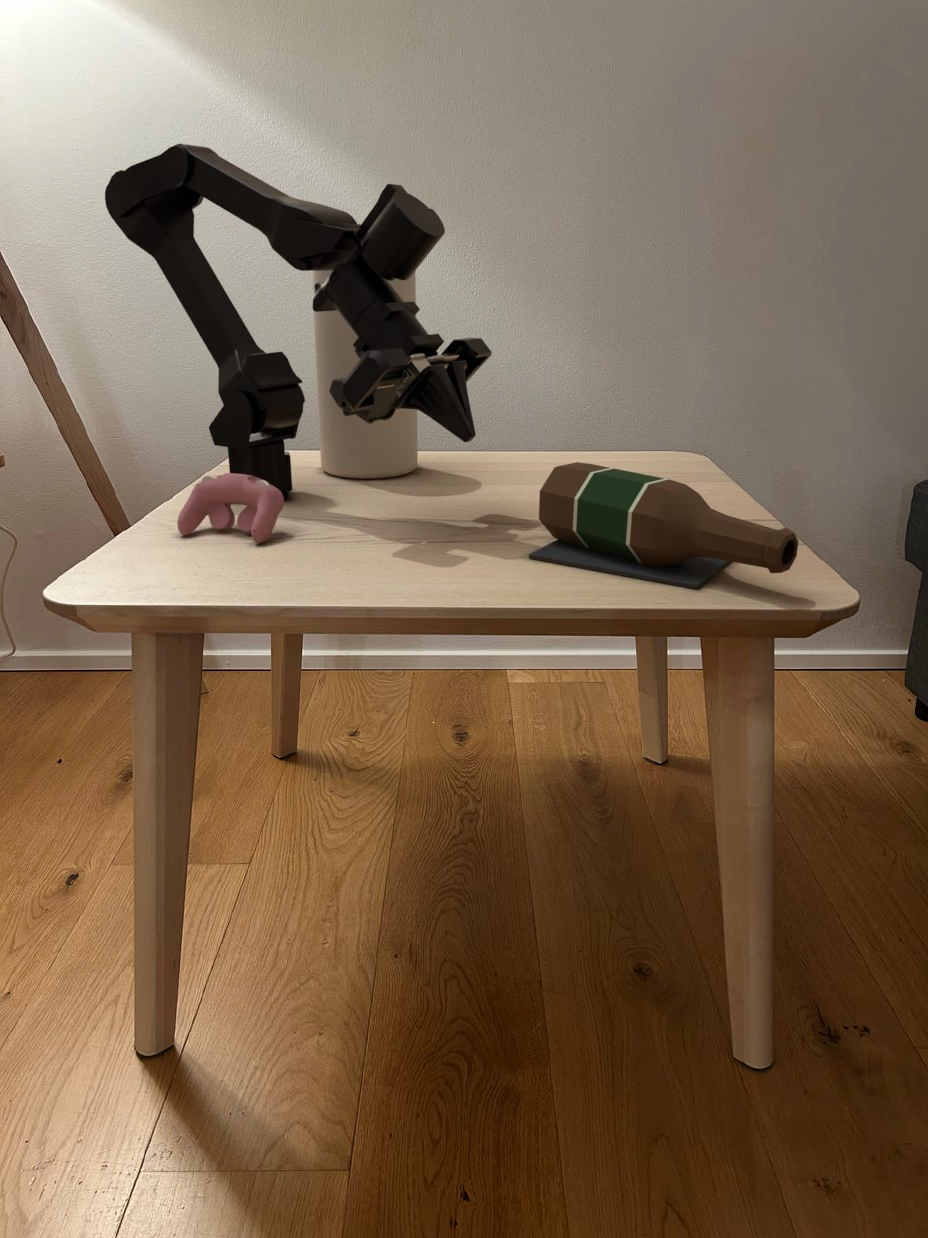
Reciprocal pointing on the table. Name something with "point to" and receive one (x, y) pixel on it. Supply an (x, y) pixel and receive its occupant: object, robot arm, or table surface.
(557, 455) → the table surface
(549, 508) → the beer bottle
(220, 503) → the video game controller
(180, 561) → the table surface
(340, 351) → the cylinder vase
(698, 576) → the mat
